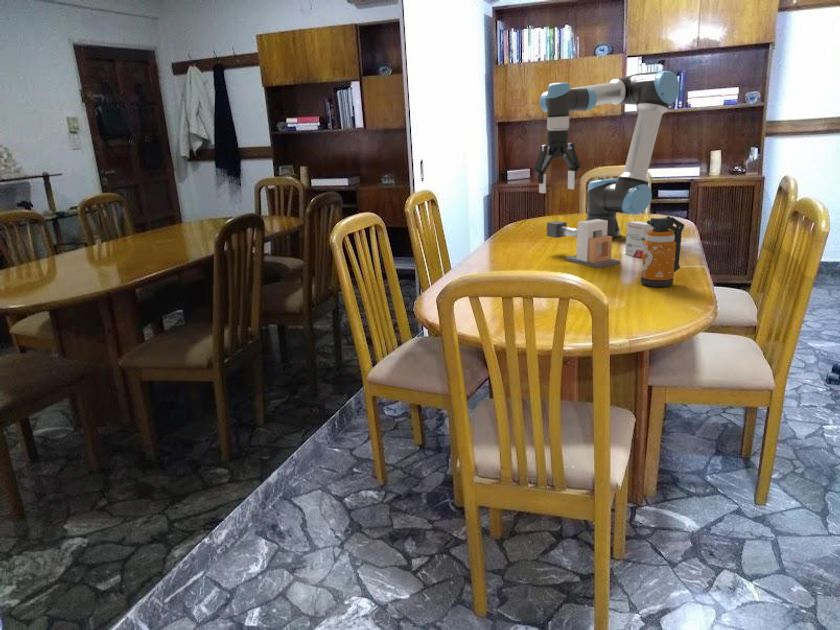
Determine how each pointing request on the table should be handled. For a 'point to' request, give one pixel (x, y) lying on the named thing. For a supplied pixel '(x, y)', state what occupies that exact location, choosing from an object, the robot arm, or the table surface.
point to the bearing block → (583, 236)
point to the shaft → (561, 230)
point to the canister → (661, 252)
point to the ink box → (636, 237)
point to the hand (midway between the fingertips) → (556, 191)
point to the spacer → (594, 248)
